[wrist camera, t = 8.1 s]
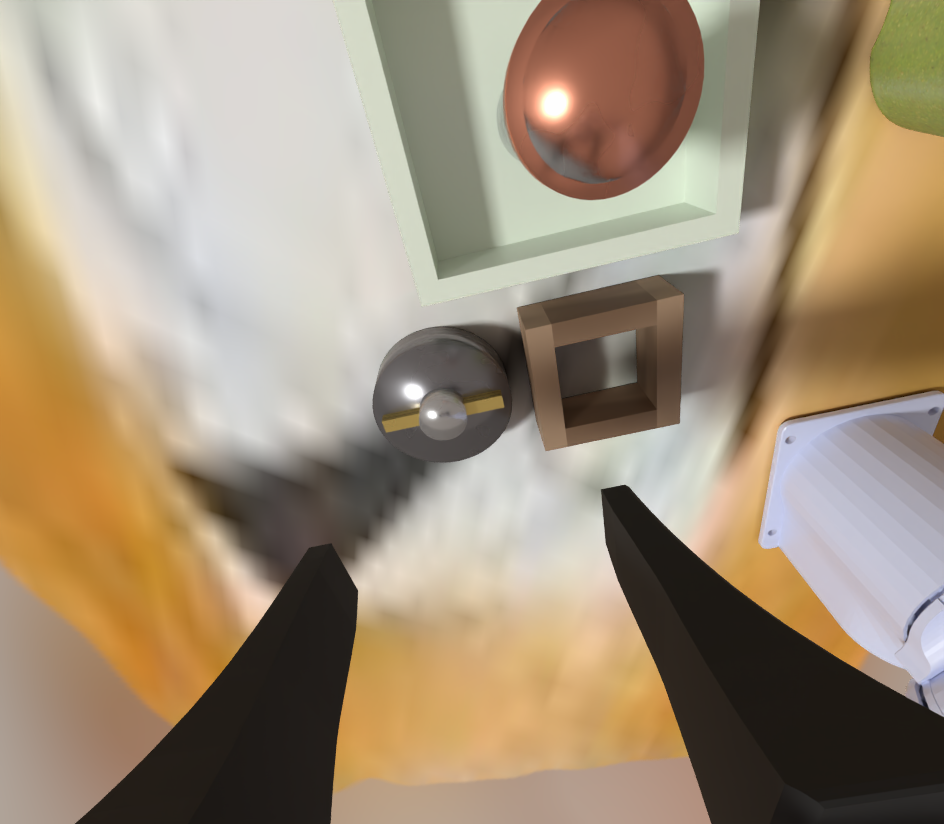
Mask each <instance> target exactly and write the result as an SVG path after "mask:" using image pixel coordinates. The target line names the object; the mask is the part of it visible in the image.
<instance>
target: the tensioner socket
mask: <svg viewBox="0 0 944 824" xmlns="http://www.w3.org/2000/svg"><path fill="white" fill-rule="evenodd" d="M683 309H684V294H683V293H682V292H680V291H679V290H678V289H676V288H675V287H674V286H672V285H671V284H670V283H668V282H667V281H666V280H664V279H663V278H662V277H660V276H659V275H657V276H653V277H649V278H644V279H640V280H635V281H631V282H627V283H622V284H618V285H614V286H609V287H605V288H601V289H596V290H592V291H588V292H583V293H579V294H575V295H570V296H566V297H561V298H557V299H553V300H548V301H544V302H540V303H535V304H531V305H527V306H522V307H518V308H517V312H518V317H519V323H520V329H521V335H522V341H523V346H524V352H525V358H526V364H527V369H528V375H529V381H530V387H531V393H532V398H533V404H534V410H535V416H536V421H537V425H538V428H539V431H540V434H541V438H542V441H543V444H544V447H545V450H546V451H549V450H554V449H558V448H563V447H568V446H573V445H578V444H583V443H587V442H592V441H597V440H602V439H607V438H612V437H616V436H621V435H626V434H631V433H636V432H641V431H645V430H650V429H655V428H660V427H665V426H670V425H674V424H679V423H680V401H681V370H682V340H683ZM631 330H636V351H637V383H633V384H628V385H623V386H619V387H614V388H609V389H605V390H600V391H595V392H591V393H586V394H581V395H577V396H572V397H567V398H563V399H561V393H560V385H559V378H558V370H557V363H556V355H555V347H559V346H564V345H568V344H573V343H577V342H582V341H586V340H591V339H595V338H600V337H604V336H609V335H613V334H618V333H622V332H627V331H631Z"/></svg>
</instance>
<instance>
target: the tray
mask: <svg viewBox="0 0 944 824" xmlns="http://www.w3.org/2000/svg"><path fill="white" fill-rule="evenodd" d="M540 1H541V0H333V3H334V7H335V10H336V14H337V17H338V21H339V24H340V27H341V31H342V34H343V38H344V41H345V45H346V48H347V52H348V55H349V58H350V62H351V65H352V69H353V72H354V76H355V79H356V83H357V86H358V89H359V93H360V96H361V100H362V103H363V107H364V110H365V114H366V117H367V120H368V124H369V127H370V131H371V134H372V138H373V141H374V144H375V148H376V151H377V155H378V158H379V162H380V165H381V169H382V172H383V175H384V179H385V182H386V186H387V189H388V193H389V196H390V200H391V203H392V206H393V210H394V213H395V217H396V220H397V224H398V227H399V231H400V234H401V237H402V241H403V244H404V248H405V251H406V255H407V258H408V262H409V265H410V268H411V272H412V275H413V279H414V282H415V286H416V289H417V292H418V296H419V299H420V303H421V306H422V307H425V306H429V305H433V304H437V303H442V302H446V301H450V300H455V299H459V298H463V297H467V296H472V295H476V294H480V293H485V292H489V291H493V290H497V289H502V288H506V287H510V286H515V285H519V284H523V283H527V282H532V281H536V280H540V279H545V278H549V277H553V276H557V275H562V274H566V273H570V272H575V271H579V270H583V269H588V268H592V267H596V266H600V265H605V264H609V263H613V262H618V261H622V260H626V259H630V258H635V257H639V256H643V255H648V254H652V253H656V252H660V251H665V250H669V249H673V248H678V247H682V246H686V245H690V244H695V243H699V242H703V241H708V240H712V239H716V238H720V237H725V236H729V235H733V234H738V233H739V224H740V213H741V202H742V192H743V181H744V170H745V159H746V148H747V138H748V127H749V116H750V105H751V94H752V83H753V73H754V62H755V51H756V40H757V29H758V19H759V8H760V0H687V1H688V2H689V4H690V6H691V8H692V10H693V12H694V14H695V16H696V19H697V22H698V25H699V28H700V31H701V37H702V42H703V49H704V79H703V86H702V93H701V97H700V101H699V105H698V108H697V111H696V114H695V117H694V119H693V122H692V124H691V126H690V128H689V130H688V133H687V135H686V137H685V138H684V140H683V141H682V143H681V145H680V146H679V148H678V149H677V151H676V152H675V153H674V155H673V156H672V157H671V159H670V160H669V161H668V162H667V163H666V164H665V165H664V166H663V167H662V168H661V170H660V171H658V172H657V173H656V174H655V175H654V176H653V177H651V178H650V179H649V180H648V181H646V182H645V183H643V184H642V185H640V186H639V187H637V188H635V189H633V190H631V191H629V192H627V193H624V194H622V195H619V196H616V197H612V198H607V199H602V200H580V199H576V198H571V197H568V196H565V195H562V194H560V193H557V192H556V191H554V190H552V189H550V188H548V187H547V186H545V185H543V184H542V183H540V182H539V181H538V180H536V179H535V178H534V177H533V176H532V175H531V174H530V173H529V172H528V171H527V170H526V169H525V167H524V166H523V165H522V163H521V162H520V161H518V160H517V159H515V158H514V157H513V156H512V155H511V154H510V153H509V152H508V151H507V149H506V148H505V146H504V145H503V143H502V141H501V138H500V136H499V132H498V128H497V117H496V115H497V106H498V101H499V97H500V94H501V92H502V90H503V88H504V80H505V75H506V69H507V65H508V62H509V59H510V56H511V53H512V50H513V48H514V46H515V43H516V41H517V39H518V37H519V35H520V33H521V31H522V29H523V27H524V25H525V24H526V22H527V20H528V18H529V17H530V15H531V14H532V12H533V11H534V9H535V8H536V7H537V5H538V4H539V3H540Z"/></svg>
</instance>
